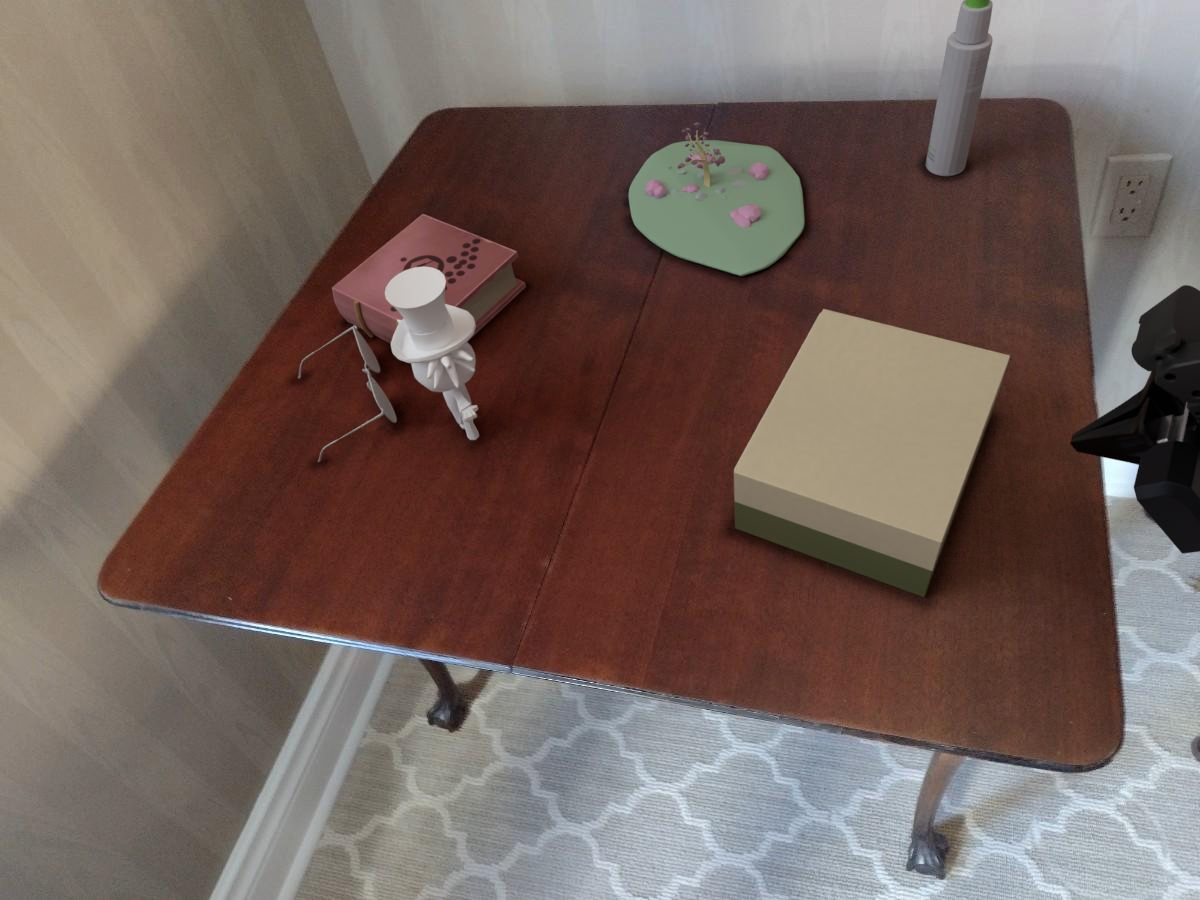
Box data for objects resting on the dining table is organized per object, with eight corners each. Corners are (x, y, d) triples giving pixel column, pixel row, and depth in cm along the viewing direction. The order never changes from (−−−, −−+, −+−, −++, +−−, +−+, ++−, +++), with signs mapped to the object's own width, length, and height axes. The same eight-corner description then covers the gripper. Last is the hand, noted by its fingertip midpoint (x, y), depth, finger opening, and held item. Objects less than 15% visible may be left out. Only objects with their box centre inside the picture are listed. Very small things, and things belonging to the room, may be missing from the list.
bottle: (938, 150, 105) (971, -25, 89) (972, 162, 102) (1012, -16, 87) (917, 168, 103) (947, -7, 88) (952, 181, 101) (989, 3, 85)
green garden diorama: (863, 226, 98) (872, 154, 91) (703, 299, 94) (699, 230, 87) (739, 127, 113) (738, 59, 106) (596, 187, 109) (586, 121, 102)
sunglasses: (402, 435, 87) (378, 405, 83) (326, 474, 87) (299, 446, 83) (373, 347, 96) (350, 316, 92) (304, 383, 96) (278, 353, 92)
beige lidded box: (990, 418, 79) (1010, 355, 73) (924, 597, 69) (941, 542, 63) (816, 369, 86) (821, 308, 79) (733, 527, 76) (731, 471, 69)
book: (342, 326, 99) (325, 292, 95) (434, 248, 105) (422, 213, 102) (433, 373, 92) (419, 338, 88) (525, 286, 99) (516, 251, 95)
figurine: (524, 446, 84) (480, 304, 70) (450, 480, 83) (390, 342, 69) (484, 378, 91) (437, 236, 77) (415, 409, 89) (354, 270, 75)
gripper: (1281, 184, 53) (1039, 283, 66) (1246, 399, 44) (973, 465, 57) (1368, 313, 56) (1121, 383, 69) (1353, 540, 47) (1070, 572, 60)
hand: (1074, 443), depth 64 cm, fingers closed
